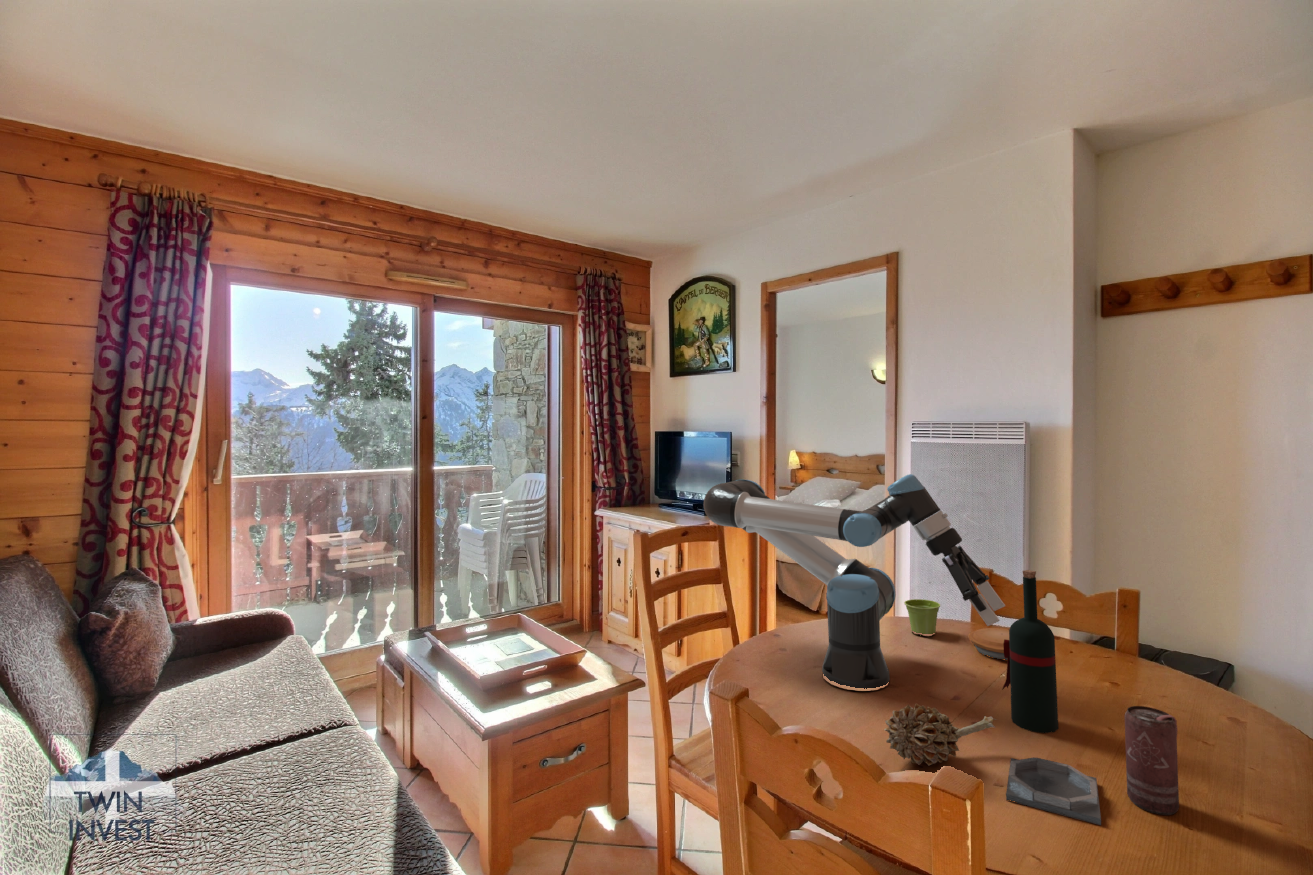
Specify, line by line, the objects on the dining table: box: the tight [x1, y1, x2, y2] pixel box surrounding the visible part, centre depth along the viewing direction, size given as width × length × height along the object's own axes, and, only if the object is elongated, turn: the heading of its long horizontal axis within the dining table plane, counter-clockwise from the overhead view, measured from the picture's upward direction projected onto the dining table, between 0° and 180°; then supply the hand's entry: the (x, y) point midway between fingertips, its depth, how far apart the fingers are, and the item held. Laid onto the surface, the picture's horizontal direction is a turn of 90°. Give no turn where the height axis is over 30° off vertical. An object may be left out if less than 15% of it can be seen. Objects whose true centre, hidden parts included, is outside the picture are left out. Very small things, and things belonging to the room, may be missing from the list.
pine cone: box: [883, 703, 997, 766], centre depth 107 cm, size 22×10×10 cm, turn 109°
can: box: [1124, 705, 1180, 816], centre depth 92 cm, size 6×6×14 cm
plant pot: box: [903, 598, 941, 634], centre depth 170 cm, size 9×9×9 cm
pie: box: [967, 627, 1010, 661], centre depth 154 cm, size 16×16×5 cm
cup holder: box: [1005, 757, 1102, 826], centre depth 96 cm, size 12×12×2 cm
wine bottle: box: [1001, 569, 1059, 734], centre depth 119 cm, size 8×10×30 cm
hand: (996, 615), depth 136 cm, fingers open, 13 cm apart
